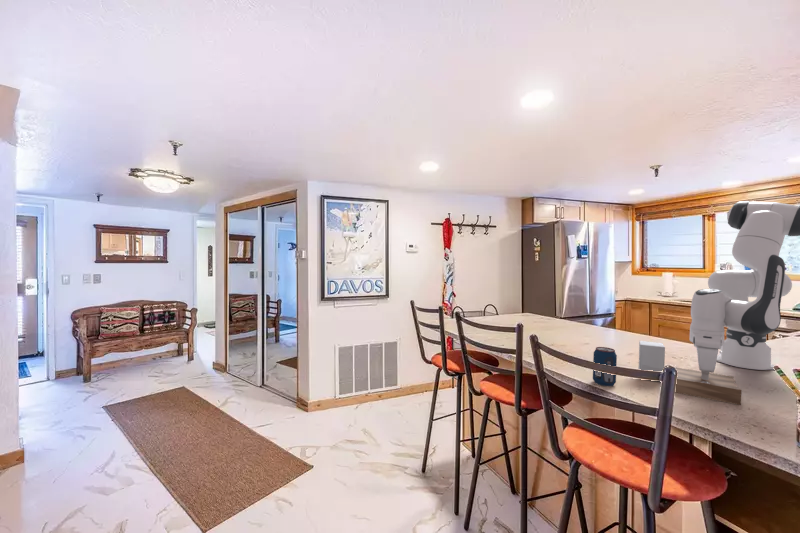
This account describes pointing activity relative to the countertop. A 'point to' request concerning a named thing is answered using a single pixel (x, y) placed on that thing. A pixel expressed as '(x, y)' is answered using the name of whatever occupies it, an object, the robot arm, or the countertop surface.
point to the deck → (708, 386)
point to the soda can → (608, 358)
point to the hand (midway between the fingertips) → (704, 378)
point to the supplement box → (651, 356)
